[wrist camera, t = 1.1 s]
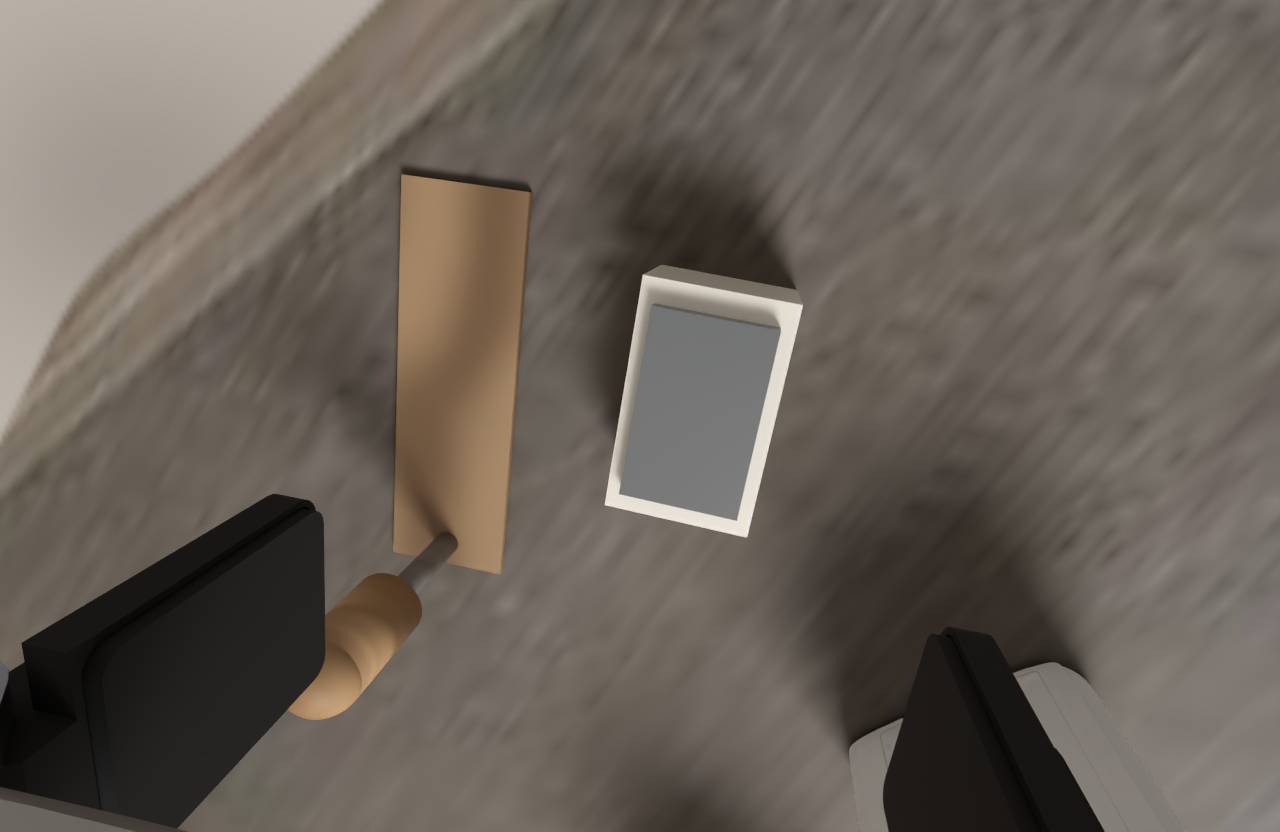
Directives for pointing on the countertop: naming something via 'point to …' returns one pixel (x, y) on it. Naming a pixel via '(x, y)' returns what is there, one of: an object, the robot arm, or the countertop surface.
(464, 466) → the strip
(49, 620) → the countertop surface
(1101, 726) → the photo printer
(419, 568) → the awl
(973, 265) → the countertop surface
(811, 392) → the countertop surface
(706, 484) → the white and grey block
